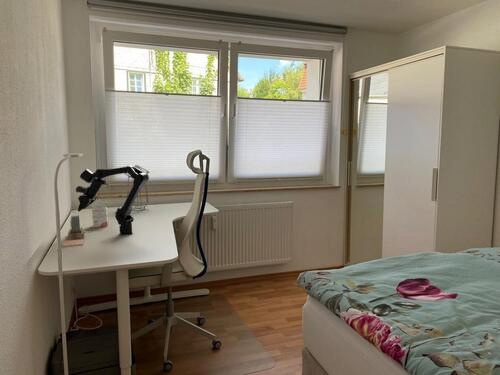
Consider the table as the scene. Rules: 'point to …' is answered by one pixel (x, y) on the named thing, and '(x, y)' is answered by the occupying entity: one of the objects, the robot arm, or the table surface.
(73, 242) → the rubber mat
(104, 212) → the ink cartridge box
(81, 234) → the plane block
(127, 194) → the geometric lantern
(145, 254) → the table surface
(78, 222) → the dark gray rectangular block
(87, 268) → the table surface
